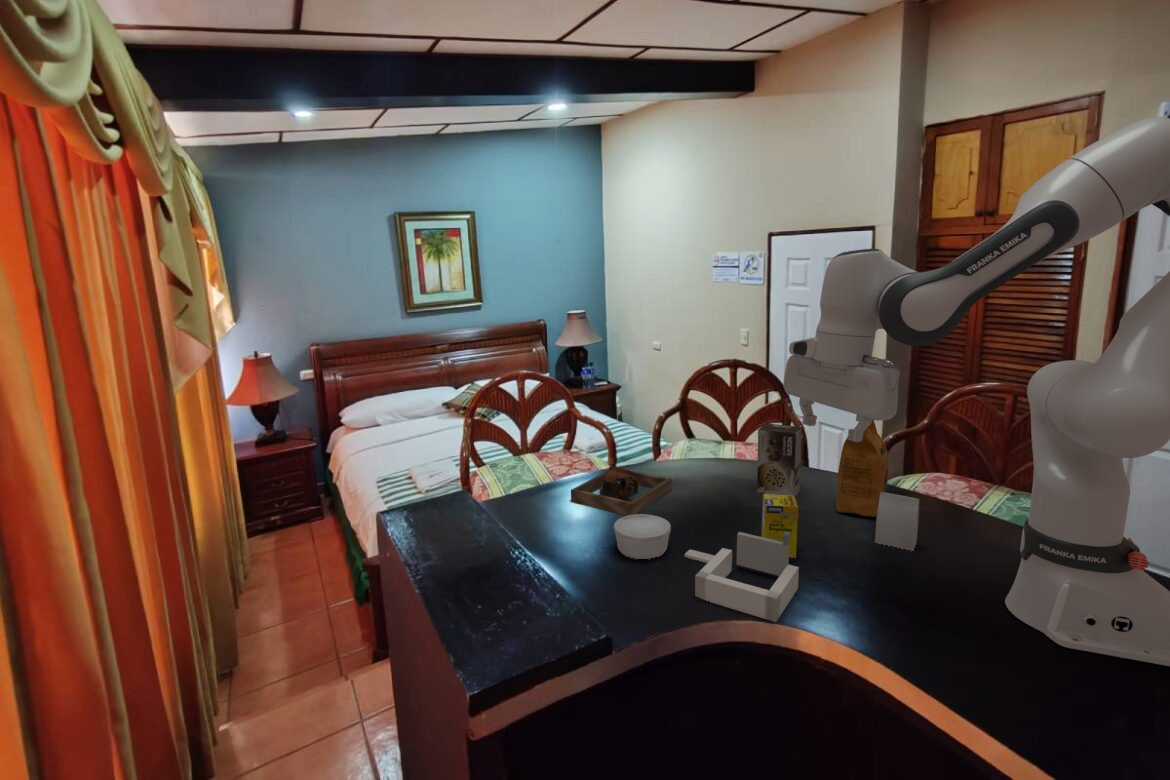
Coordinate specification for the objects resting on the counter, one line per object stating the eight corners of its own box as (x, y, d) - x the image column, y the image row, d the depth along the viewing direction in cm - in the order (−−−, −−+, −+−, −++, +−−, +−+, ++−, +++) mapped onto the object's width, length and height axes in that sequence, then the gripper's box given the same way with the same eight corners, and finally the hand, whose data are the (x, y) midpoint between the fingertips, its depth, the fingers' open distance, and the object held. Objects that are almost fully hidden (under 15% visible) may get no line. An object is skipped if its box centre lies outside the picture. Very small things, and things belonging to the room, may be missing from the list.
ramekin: (656, 533, 126) (656, 510, 125) (680, 557, 115) (681, 531, 114) (606, 542, 123) (605, 518, 122) (626, 567, 112) (626, 541, 111)
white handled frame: (802, 581, 105) (803, 560, 104) (776, 622, 94) (777, 598, 93) (690, 552, 117) (690, 532, 116) (654, 584, 106) (654, 563, 105)
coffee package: (893, 505, 137) (900, 411, 132) (876, 523, 128) (884, 422, 123) (847, 495, 143) (853, 405, 139) (829, 512, 134) (834, 416, 130)
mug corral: (671, 490, 150) (671, 478, 149) (632, 516, 134) (632, 504, 134) (613, 478, 159) (613, 467, 159) (571, 501, 144) (570, 490, 143)
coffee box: (800, 490, 147) (803, 426, 144) (794, 499, 142) (797, 433, 139) (763, 484, 152) (765, 422, 149) (755, 492, 147) (757, 428, 144)
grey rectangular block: (913, 551, 115) (917, 502, 113) (874, 543, 119) (878, 495, 117) (916, 544, 118) (920, 496, 116) (878, 536, 122) (882, 489, 120)
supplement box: (796, 562, 112) (799, 506, 110) (763, 559, 113) (765, 505, 111) (792, 547, 118) (794, 494, 116) (760, 545, 119) (762, 493, 117)
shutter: (788, 574, 106) (790, 532, 104) (785, 578, 105) (787, 535, 103) (738, 561, 111) (739, 521, 109) (736, 564, 110) (737, 523, 108)
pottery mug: (590, 495, 149) (600, 463, 151) (622, 506, 152) (631, 475, 154) (612, 499, 138) (622, 464, 140) (646, 511, 142) (655, 477, 143)
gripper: (914, 361, 90) (899, 449, 93) (808, 341, 108) (798, 415, 111) (886, 362, 88) (872, 453, 91) (782, 342, 105) (773, 418, 108)
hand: (830, 432), depth 101 cm, fingers open, 8 cm apart
